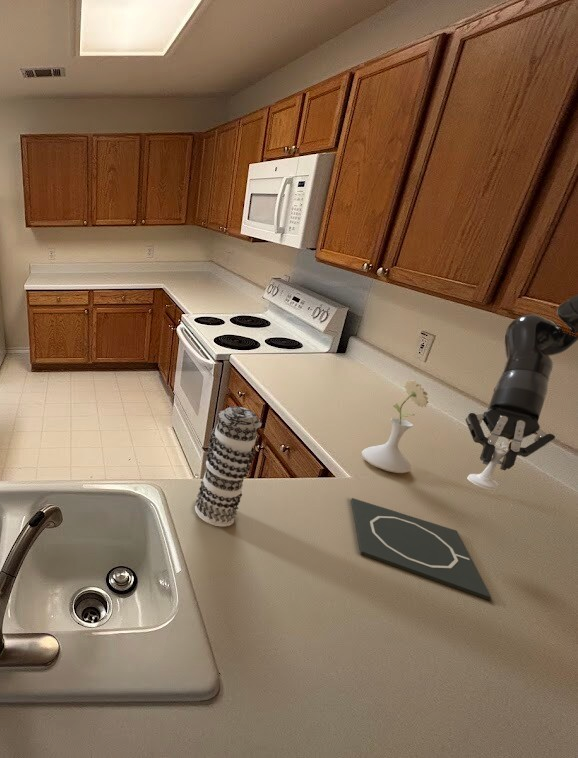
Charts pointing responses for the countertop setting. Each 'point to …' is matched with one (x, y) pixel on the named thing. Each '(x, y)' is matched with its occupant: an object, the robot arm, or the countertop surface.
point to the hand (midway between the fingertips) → (495, 465)
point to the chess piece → (489, 471)
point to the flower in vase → (396, 436)
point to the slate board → (416, 547)
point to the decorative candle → (227, 465)
